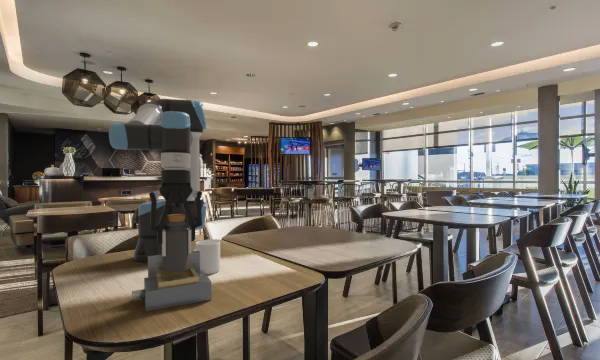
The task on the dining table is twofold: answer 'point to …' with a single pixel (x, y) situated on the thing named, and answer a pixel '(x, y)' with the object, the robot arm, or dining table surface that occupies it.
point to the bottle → (176, 244)
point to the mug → (209, 255)
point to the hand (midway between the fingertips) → (176, 253)
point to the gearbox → (173, 284)
